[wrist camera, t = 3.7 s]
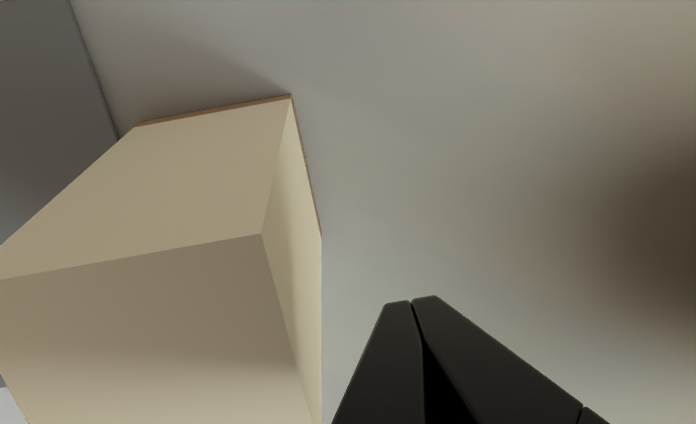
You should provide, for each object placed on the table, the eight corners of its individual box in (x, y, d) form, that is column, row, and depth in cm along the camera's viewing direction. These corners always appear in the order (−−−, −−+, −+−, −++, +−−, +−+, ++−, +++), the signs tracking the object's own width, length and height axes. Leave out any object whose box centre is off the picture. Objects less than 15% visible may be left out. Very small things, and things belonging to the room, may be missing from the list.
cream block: (291, 93, 16) (260, 233, 8) (321, 230, 18) (322, 460, 10) (139, 122, 16) (-48, 287, 8) (185, 255, 18) (71, 501, 10)
